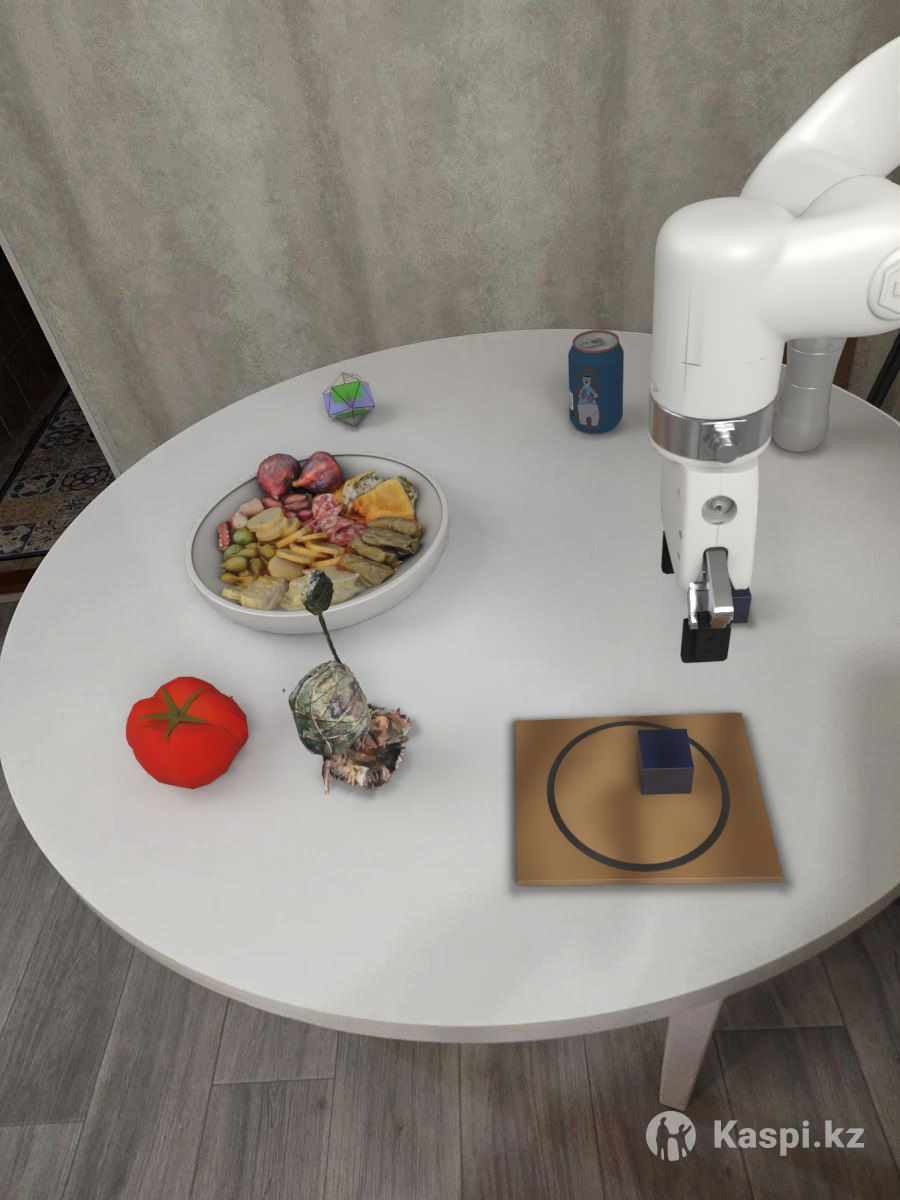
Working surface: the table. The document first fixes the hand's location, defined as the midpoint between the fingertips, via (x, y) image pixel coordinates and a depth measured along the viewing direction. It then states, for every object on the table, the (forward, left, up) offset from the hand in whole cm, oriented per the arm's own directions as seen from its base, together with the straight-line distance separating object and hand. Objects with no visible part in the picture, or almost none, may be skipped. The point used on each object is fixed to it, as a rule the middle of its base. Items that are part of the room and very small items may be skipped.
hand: (691, 612), depth 66 cm
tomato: (+44, 0, -16) cm, 47 cm away
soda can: (+3, -53, -16) cm, 56 cm away
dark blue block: (-7, -16, -16) cm, 23 cm away
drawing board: (+4, +6, -16) cm, 17 cm away
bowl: (+36, -28, -16) cm, 49 cm away
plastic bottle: (-21, -45, -16) cm, 52 cm away
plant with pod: (+28, +1, -16) cm, 32 cm away
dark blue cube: (+2, +4, -15) cm, 15 cm away
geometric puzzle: (+37, -59, -16) cm, 72 cm away
